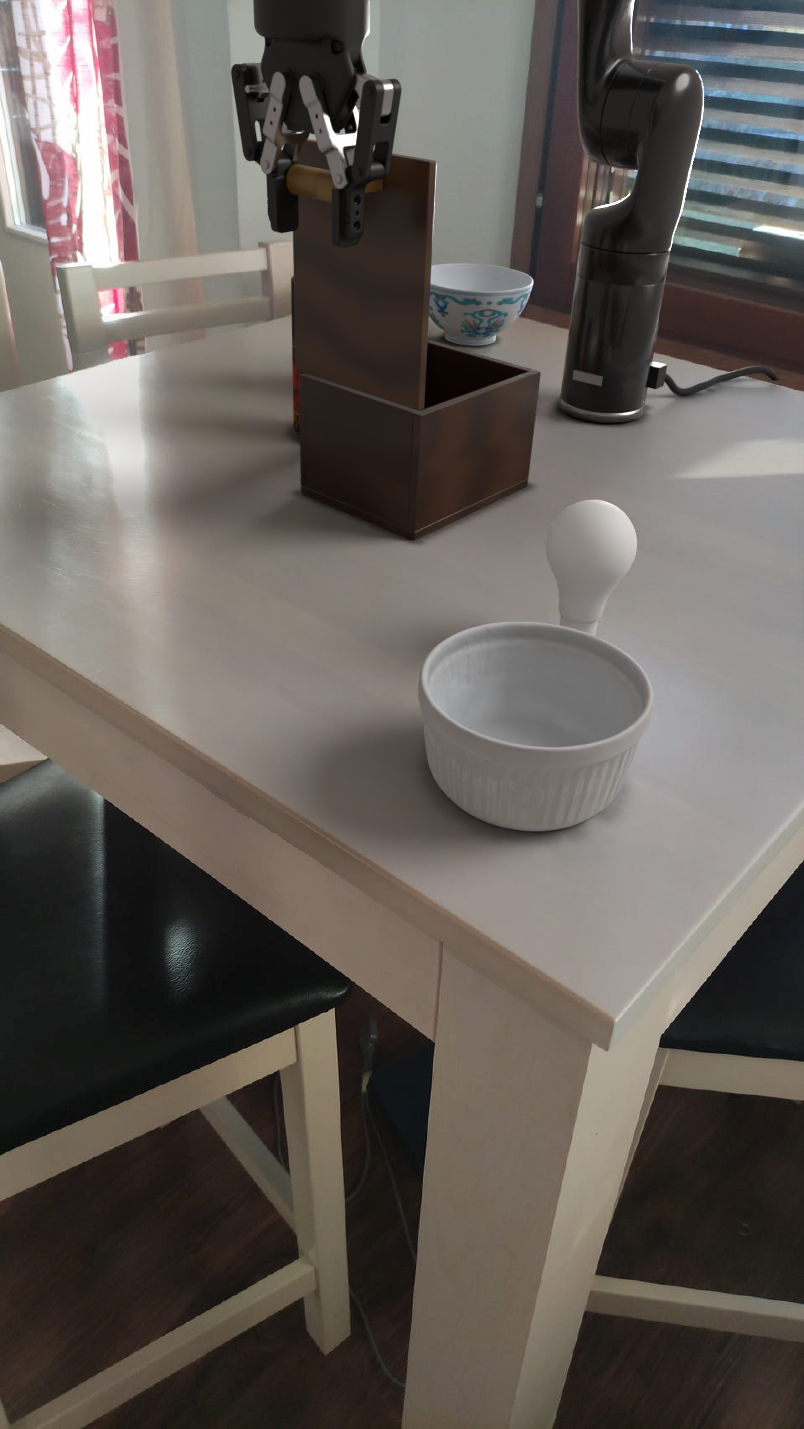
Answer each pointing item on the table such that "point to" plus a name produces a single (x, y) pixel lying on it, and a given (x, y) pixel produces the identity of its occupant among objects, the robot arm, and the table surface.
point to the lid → (365, 280)
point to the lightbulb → (589, 559)
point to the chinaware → (476, 300)
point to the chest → (420, 443)
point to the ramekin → (531, 722)
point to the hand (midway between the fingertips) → (314, 237)
